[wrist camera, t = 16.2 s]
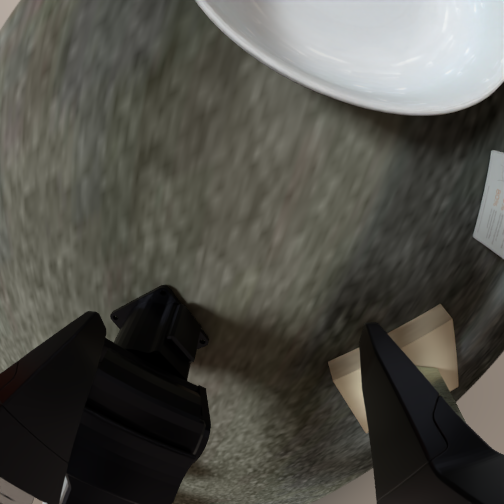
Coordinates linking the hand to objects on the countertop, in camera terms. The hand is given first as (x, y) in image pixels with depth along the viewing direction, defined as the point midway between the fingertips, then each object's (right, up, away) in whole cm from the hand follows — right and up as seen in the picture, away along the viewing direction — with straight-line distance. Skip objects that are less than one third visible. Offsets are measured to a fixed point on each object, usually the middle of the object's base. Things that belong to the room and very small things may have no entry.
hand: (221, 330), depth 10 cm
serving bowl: (+7, +21, +5) cm, 23 cm away
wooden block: (+16, -10, +19) cm, 27 cm away
